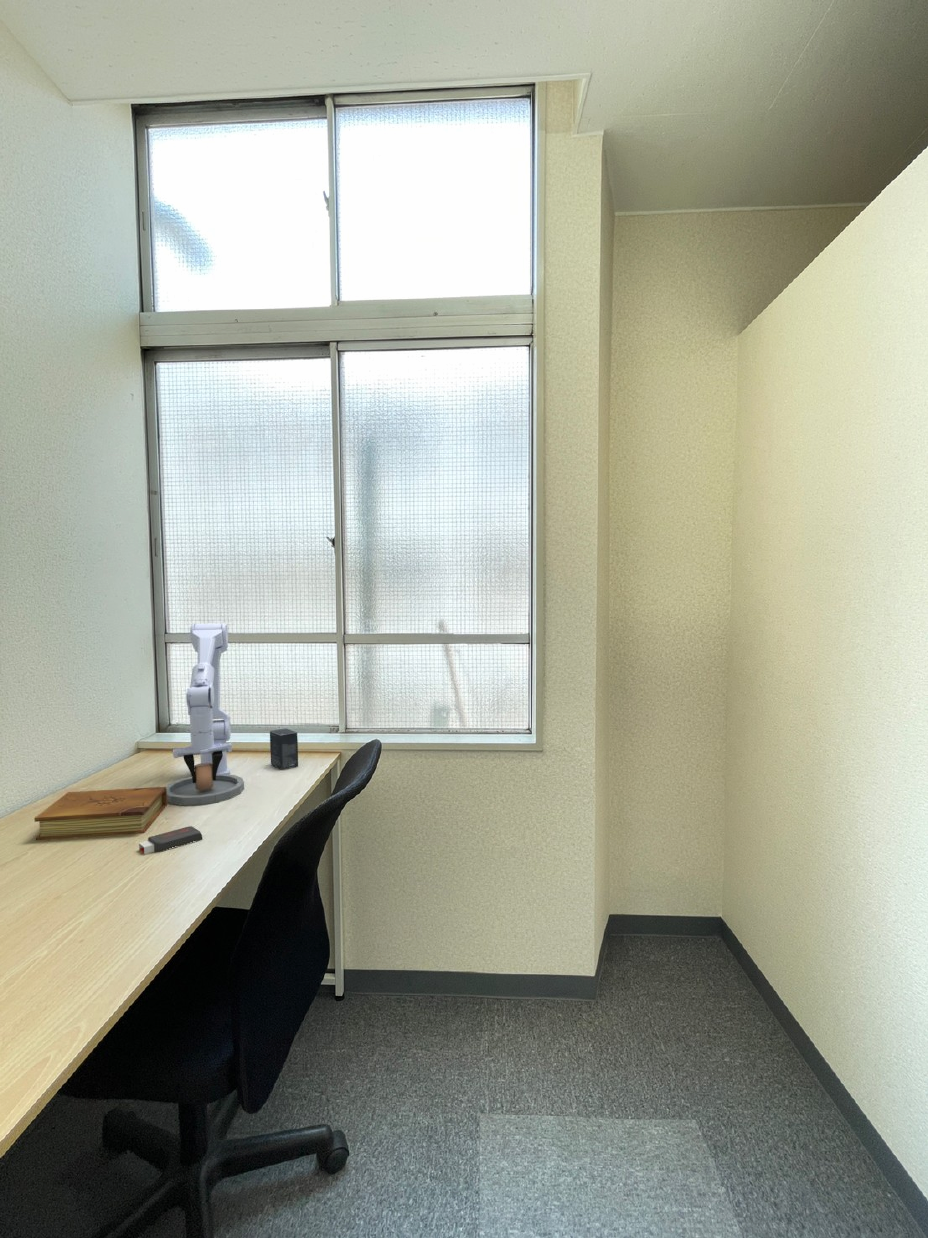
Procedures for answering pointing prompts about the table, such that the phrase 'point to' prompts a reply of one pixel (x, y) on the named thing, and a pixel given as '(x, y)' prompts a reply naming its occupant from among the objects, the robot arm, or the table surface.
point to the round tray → (189, 795)
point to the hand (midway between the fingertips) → (204, 780)
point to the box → (284, 748)
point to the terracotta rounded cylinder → (204, 776)
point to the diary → (102, 813)
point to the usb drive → (170, 840)
